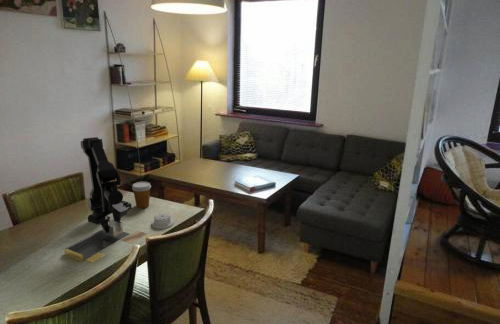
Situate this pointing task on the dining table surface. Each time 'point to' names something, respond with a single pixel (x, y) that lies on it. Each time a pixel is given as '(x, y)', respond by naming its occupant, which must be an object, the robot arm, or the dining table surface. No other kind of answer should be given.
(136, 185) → the disposable coffee cup
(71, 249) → the shallow tray
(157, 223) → the mechanical component
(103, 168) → the robot arm
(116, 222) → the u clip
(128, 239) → the board
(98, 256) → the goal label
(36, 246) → the dining table surface
